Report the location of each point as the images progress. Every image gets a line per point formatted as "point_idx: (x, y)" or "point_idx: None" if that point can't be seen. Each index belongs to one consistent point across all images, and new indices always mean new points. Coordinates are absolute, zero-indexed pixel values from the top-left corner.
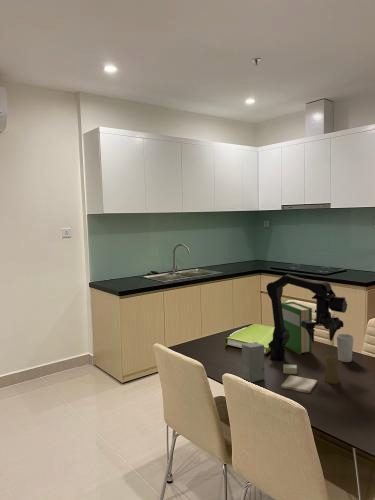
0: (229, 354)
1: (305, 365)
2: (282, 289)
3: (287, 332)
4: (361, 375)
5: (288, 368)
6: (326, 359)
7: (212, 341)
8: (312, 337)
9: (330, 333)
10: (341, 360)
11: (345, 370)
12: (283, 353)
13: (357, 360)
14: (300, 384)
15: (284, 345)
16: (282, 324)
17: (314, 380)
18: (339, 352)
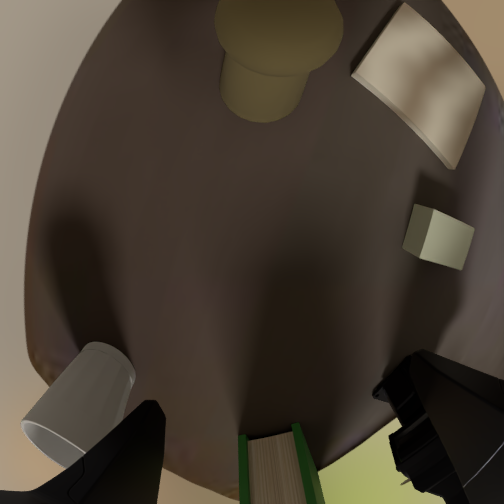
0: None
1: (330, 316)
2: None
3: (431, 474)
4: (72, 162)
5: (458, 220)
6: (341, 17)
7: None
8: (478, 376)
9: (140, 493)
10: (122, 356)
11: (126, 234)
12: (409, 385)
13: (62, 347)
14: (433, 61)
15: (316, 469)
16: (465, 497)
17: (369, 75)
18: (118, 390)
